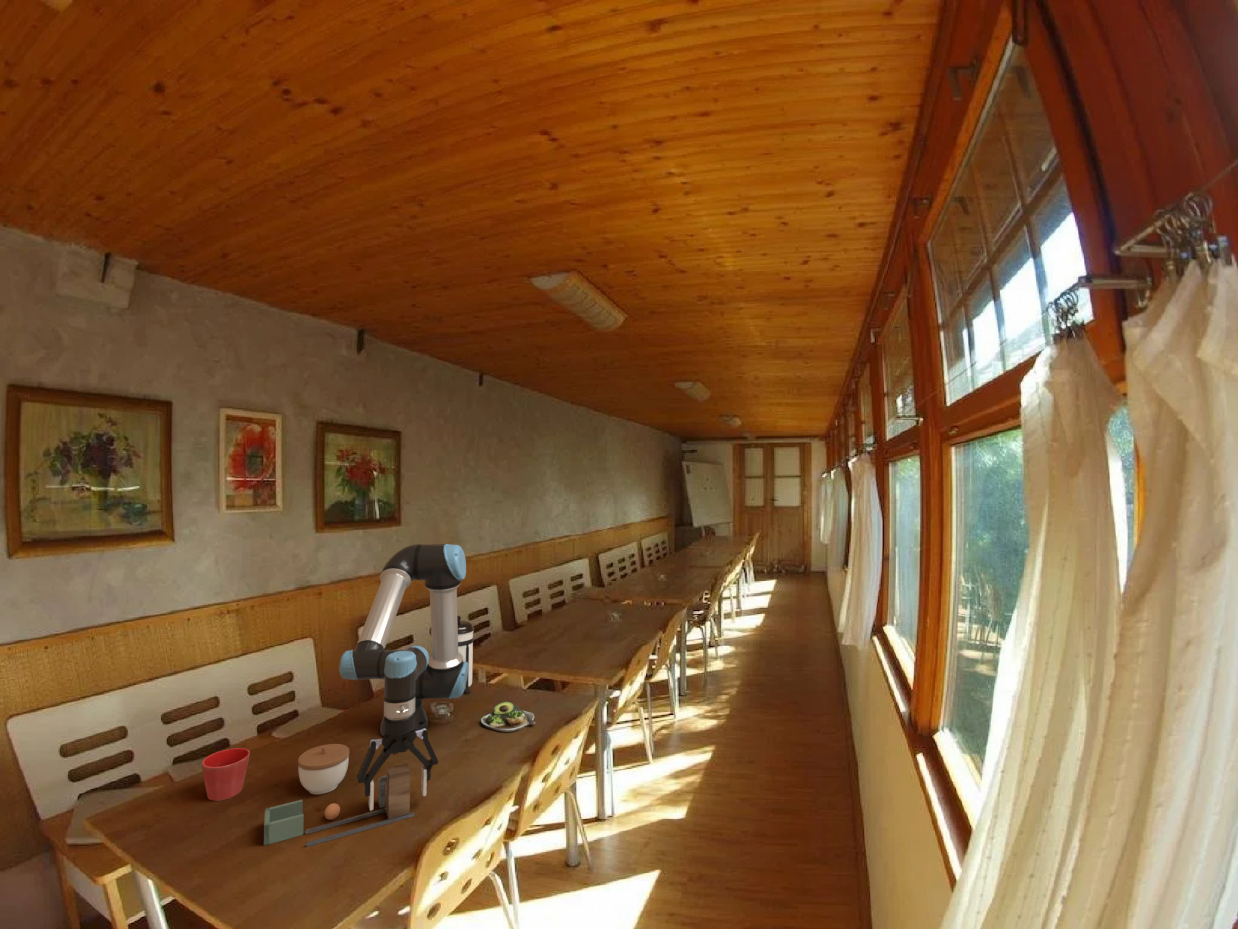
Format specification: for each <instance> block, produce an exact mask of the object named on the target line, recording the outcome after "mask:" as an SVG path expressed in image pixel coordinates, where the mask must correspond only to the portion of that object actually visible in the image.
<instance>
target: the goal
mask: <svg viewBox="0 0 1238 929" xmlns="http://www.w3.org/2000/svg"><path fill="white" fill-rule="evenodd" d="M303 800H304V799H299V800H295V801H292V802H287V803H283V804H280V805H275V806H271V807H266V808H265V809H264V821H263V822H264V825H263V826H264V827H263V847H264V846H267V845H270V844H272V845H273V844H275V843H279V842H282V841H286V840H289V839H293V838H297V837H300V836H304V816H305V815H304V813H303V810H304V809H303V806H304V805H303V804H304V803H303V802H304V801H303Z"/></svg>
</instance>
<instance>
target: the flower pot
mask: <svg viewBox="0 0 1238 929" xmlns="http://www.w3.org/2000/svg"><path fill="white" fill-rule="evenodd" d="M250 755H251V751H250V750H249V749H247V748H243V747H242V748H241V747H233V748H227V749H224V750H220V751H216V752H214V753H212V754H210V755H208V756H207V757H204V759H203V760H202V762H201V768H202V773H203V774H202V776H203V781H204V786H205V790H206V795H207V799H208V800H209V801H215V802H216V801H217V802H219V801H224V800H228V799H231V798H233V797H235V796H237V795H239V794H240V793H241V792H242V790H243V787H244V783H245V779H246V774H247V769H248V765H249V760H250Z"/></svg>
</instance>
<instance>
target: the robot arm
mask: <svg viewBox="0 0 1238 929" xmlns="http://www.w3.org/2000/svg"><path fill="white" fill-rule="evenodd" d="M466 561H467V560H466V555H465V552H464V549H463V548H462V547H461V545H459V544H449V543H442V544H441V543H439V544H433V543H432V544H424V543H423V544H419V543H417V544H410V545H407V546H405V547H403V548H401V549H400V550H398V551H397V552H395V553H394V554H393V555H392V556H391V557H390V558H388V560H387V562H386V563H385V565H384V566H383V567H382V571H381V572H380V574H379V582H380V584H379V587H378V589H377V592H376V595H375V597H374V600H373V602H372V604H371V608H370V609H369V612H368V615H367V617H366V620H365V622H364V626H363V627H362V630H361V633H360V636H359V638H358V640H357V644H356V645H355V648H354V649H351V650H350V649H349V650H346V651H344V653H342V655H341V656H340V661H339V666H338V670H339V674H340V677H341V679H344V680H354V681H359V680H384V692H383V694H384V696H383V697H384V698H383V699H384V700H383V717H382V721H381V723H380V726H379V727H380V728H379V729H380V730H379V732H380V733H379V734H380V735H381V736H382V737H381V738H377V739H375V737H374V738H373V737H372V738H370V740H369V742H368V743H369V745H368V749H367V752H366V755H365V757H364V758H363V761H362V763H361V766H360V768H359V770H358V773H357V774H356V781H357V784H364V786H363V787H364V788H363V789H364V790H363V792H364V795H365V797H368V808H369V812H372V811H373V810H374V798H375V796H374V793H375V789H374V788H375V783H374V778H375V776H376V775H377V774H378V772H379V770H380V769H381V767H382V766H383V765H384V764H385V762H386V760H388V759H389V758H390V756H391V754H392V755H396V754H399V753H405V752H407V751H408V750H409V751H410V752H411V753H412V754H413V755H414V756H415V757H416V758H417V759H418V761H419V762H420V763H421V764H422V766H421V774H420V775H421V781H420V788H421V789H420V792H421V795H422V797H426V796H427V782H429V781H430V780H431V777H432V776H431V775H432V774H431V773H432V769H433V766H435V765H436V766H437V764H439V760H438V758H437V755H436V753H435V751H434V750H433V747H432V745H431V743H430V740H429V732H428V730H427V729H428V725H429V724H428V722H429V721H428V716H427V713H426V710H425V706H424V704H423V703H424V702H423V701H424V699H425V700H426V699H433V700H435V699H448V700H450V699H458V698H460V697H462V696H463V694H464V693H465V692H464V690H465V686H466V681H467V676H468V668H469V665H468V662H465V661H464V662H463V656H462V654H460V653H459V652H458V623H457V616H458V597H457V596H458V590H457V589H458V588H459V587H460V585H461V584H462V581H463V580H465V578H466V575H467V562H466ZM412 581H424V588H426V589H427V590H428V591H429V602H430V603H429V605H430V630H431V631H430V633H431V634H430V635H431V656H430V654H429V652H428V650H427V649H426V648H424V647H423V646H420V645H412V646H410V647H408V648H407V649H385V648H386V646H387V642H388V640H389V637H390V634H391V630H392V628H393V625H394V622H395V620H396V616H397V613H398V612H399V608H400V605H401V602H402V600H403V597H404V594H405V591H406V589H407V588H409V587H410V585H412V584H411V583H412ZM417 737H419V738H418V739H419V740H422V743H423V745H424V746H425V748H426V751H427V753H428V755H429V757H430V758H429V759H427V757H426V756H425V755H424V753H423V752H421V750H420V749H419V748H417V746H416V745H415V743H414V742H415V740H416V738H417ZM381 745H382V746H383V748H382V750H381V753H380V754H379V755H378V757H377V758H376V760H374V762H373V764H371V763H372V761H373V758H374V757H375V754H376V750H378V748H379V747H380V746H381ZM370 766H371V767H370Z"/></svg>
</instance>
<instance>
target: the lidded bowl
mask: <svg viewBox="0 0 1238 929" xmlns="http://www.w3.org/2000/svg"><path fill="white" fill-rule="evenodd" d="M349 757H350V748H349V747H348V746H347V745H345V744H340V743H328V744H322V745H317V746H315V747H312V748H310V749H308V750H306V751H304V752H303V753H301V755H299V757H298V760H297V765H298V777H299V778H298V779H299V782H300V784H301V786H302V787H303V788H304V789H305V790H306V791H308V792H309V794H311V795H323V794H327V793H330V792H333V791H334V790H335V789H337V788H338V785H339V784H340V783H341V782H342V781H343V779H344V778H345V776H346V775H347V772H348V771H347V770H348V767H349V760H350V759H349Z"/></svg>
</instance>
